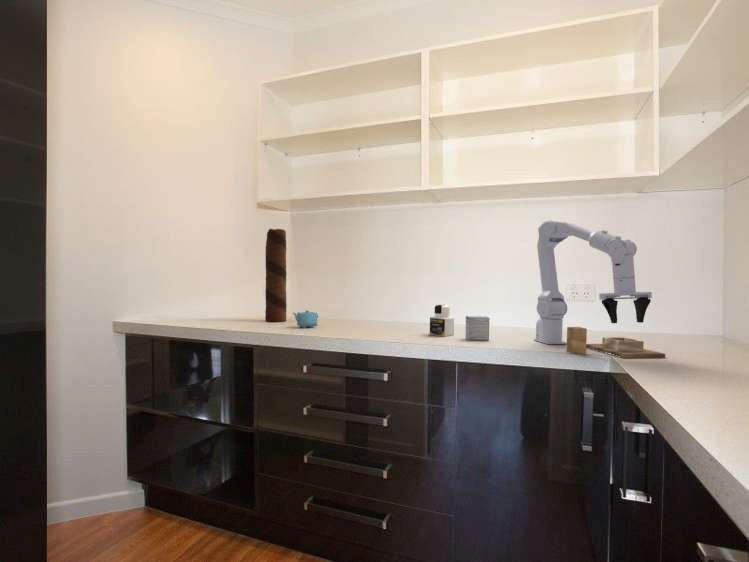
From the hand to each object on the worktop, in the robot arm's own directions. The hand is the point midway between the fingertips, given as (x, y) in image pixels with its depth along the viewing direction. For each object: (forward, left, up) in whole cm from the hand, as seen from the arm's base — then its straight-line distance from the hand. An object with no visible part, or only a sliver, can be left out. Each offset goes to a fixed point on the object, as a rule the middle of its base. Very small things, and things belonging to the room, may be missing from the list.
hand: (627, 322), depth 124 cm
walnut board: (-6, +3, -10) cm, 12 cm away
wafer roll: (-91, -115, -10) cm, 147 cm away
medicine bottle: (-45, -45, -11) cm, 64 cm away
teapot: (-68, -100, -11) cm, 121 cm away
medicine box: (-33, -35, -11) cm, 49 cm away
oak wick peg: (-6, -13, -10) cm, 17 cm away
